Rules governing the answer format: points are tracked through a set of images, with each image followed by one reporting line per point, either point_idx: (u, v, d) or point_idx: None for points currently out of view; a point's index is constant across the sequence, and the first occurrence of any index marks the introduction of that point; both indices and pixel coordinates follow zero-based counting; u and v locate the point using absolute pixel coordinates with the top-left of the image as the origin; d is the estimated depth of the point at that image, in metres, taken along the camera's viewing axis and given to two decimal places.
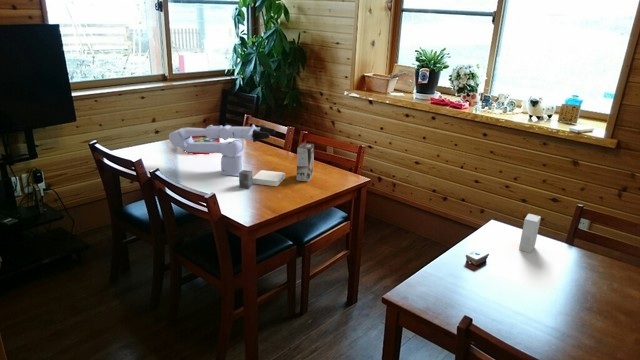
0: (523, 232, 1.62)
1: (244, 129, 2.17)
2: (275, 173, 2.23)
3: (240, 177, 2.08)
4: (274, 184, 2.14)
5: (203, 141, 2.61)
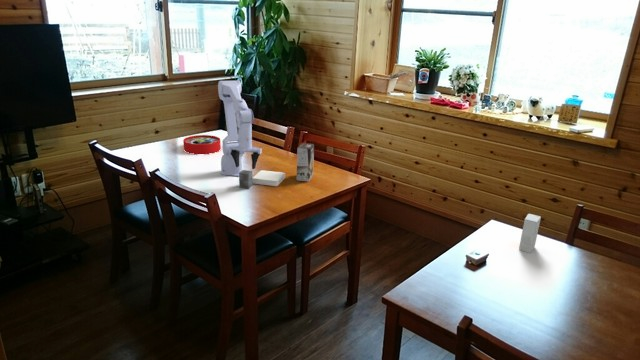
0: (523, 232, 1.62)
1: (239, 140, 2.03)
2: (275, 173, 2.23)
3: (240, 177, 2.08)
4: (274, 184, 2.14)
5: (204, 141, 2.61)
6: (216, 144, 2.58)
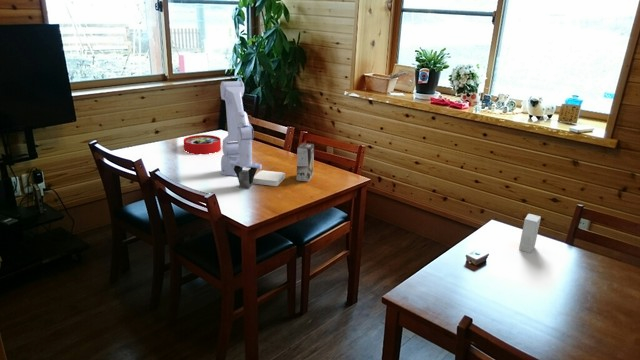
0: (523, 232, 1.62)
1: (239, 156, 2.05)
2: (275, 173, 2.23)
3: (240, 177, 2.08)
4: (274, 184, 2.14)
5: (204, 141, 2.61)
6: (216, 144, 2.58)
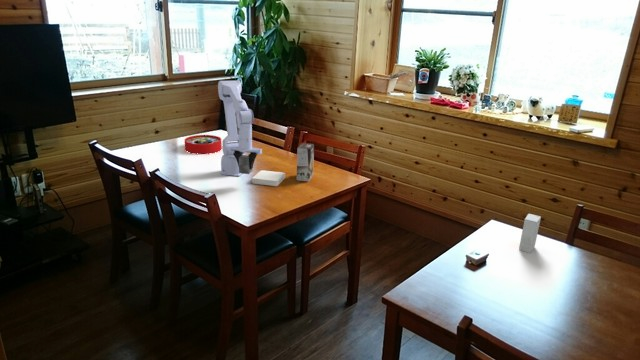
0: (523, 232, 1.62)
1: (239, 141, 2.03)
2: (275, 173, 2.23)
3: (240, 162, 2.06)
4: (274, 184, 2.14)
5: (205, 141, 2.62)
6: (217, 144, 2.59)
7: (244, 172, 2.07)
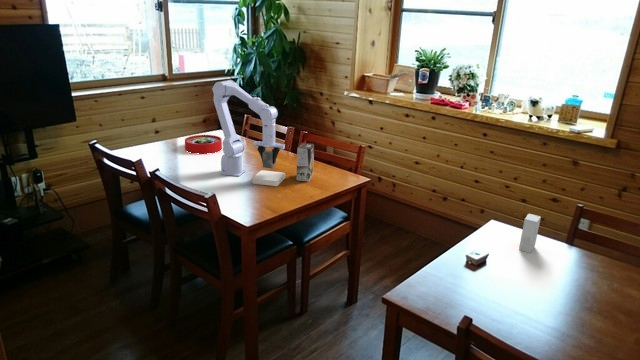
0: (523, 232, 1.62)
1: (263, 136, 2.12)
2: (275, 173, 2.23)
3: (264, 157, 2.15)
4: (274, 184, 2.14)
5: (205, 141, 2.62)
6: (218, 144, 2.59)
7: (267, 166, 2.16)
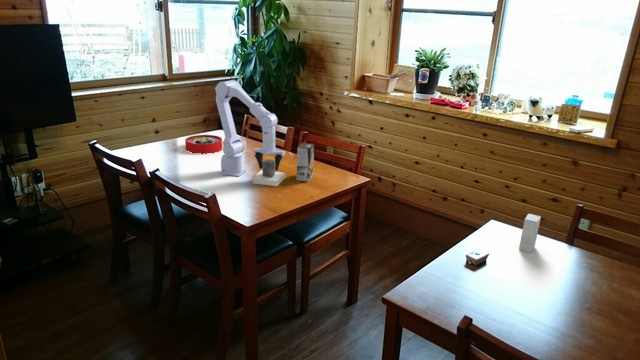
0: (523, 232, 1.62)
1: (263, 143, 2.13)
2: (275, 173, 2.23)
3: (263, 166, 2.16)
4: (274, 184, 2.14)
5: (205, 141, 2.62)
6: (218, 144, 2.59)
7: (267, 175, 2.17)
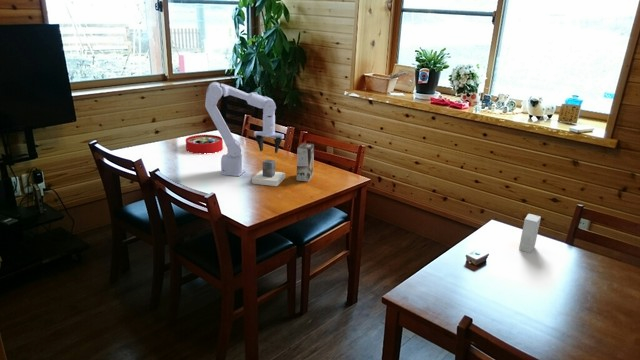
0: (523, 232, 1.62)
1: (263, 126, 2.22)
2: (275, 173, 2.23)
3: (263, 166, 2.16)
4: (274, 184, 2.14)
5: (206, 141, 2.62)
6: (218, 144, 2.59)
7: (267, 175, 2.17)
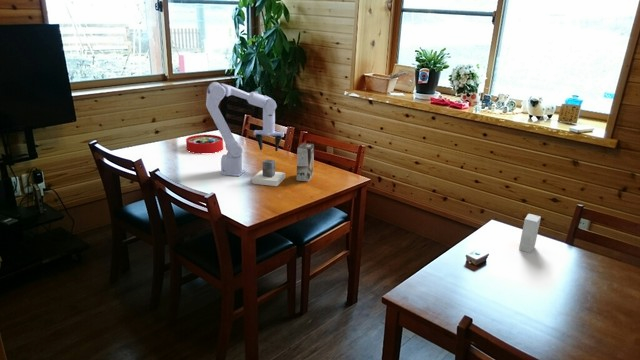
0: (523, 232, 1.62)
1: (263, 125, 2.25)
2: (275, 173, 2.23)
3: (263, 166, 2.16)
4: (274, 184, 2.14)
5: (206, 140, 2.62)
6: (219, 143, 2.59)
7: (267, 175, 2.17)
